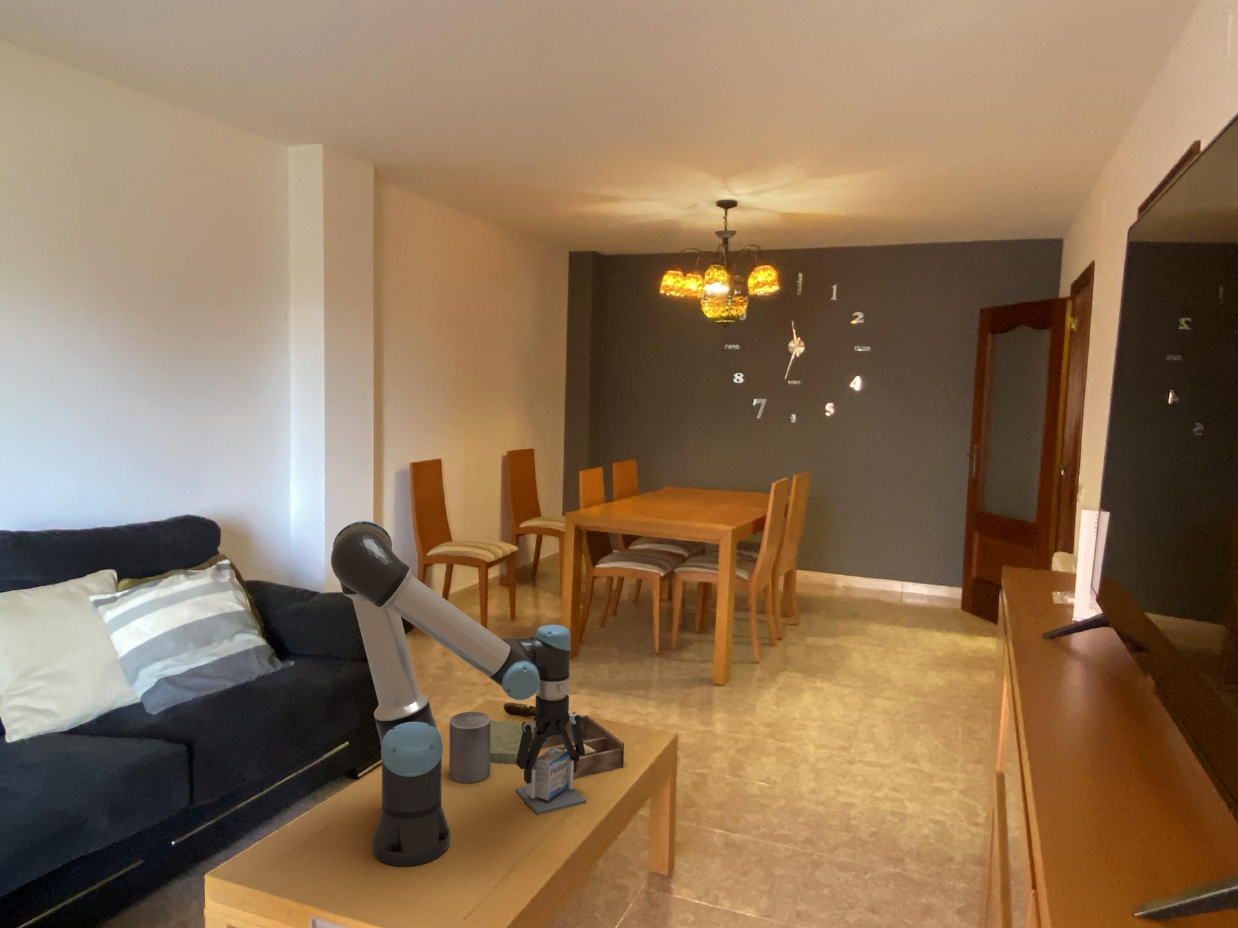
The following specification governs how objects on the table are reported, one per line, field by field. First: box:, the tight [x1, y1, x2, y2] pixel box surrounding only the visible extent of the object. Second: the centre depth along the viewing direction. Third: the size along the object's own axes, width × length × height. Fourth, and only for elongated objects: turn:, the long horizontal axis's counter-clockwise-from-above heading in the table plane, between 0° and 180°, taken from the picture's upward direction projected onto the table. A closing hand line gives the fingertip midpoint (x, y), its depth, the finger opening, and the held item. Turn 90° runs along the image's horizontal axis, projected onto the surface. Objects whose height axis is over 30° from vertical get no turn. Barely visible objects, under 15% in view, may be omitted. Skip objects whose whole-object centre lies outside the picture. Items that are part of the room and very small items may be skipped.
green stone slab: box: [490, 719, 532, 765], centre depth 216 cm, size 19×20×4 cm
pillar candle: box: [448, 711, 492, 784], centre depth 199 cm, size 10×10×15 cm
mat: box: [515, 785, 587, 816], centre depth 190 cm, size 12×12×1 cm
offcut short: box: [564, 744, 596, 758], centre depth 205 cm, size 6×5×2 cm
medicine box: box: [533, 747, 568, 801], centre depth 189 cm, size 8×4×9 cm, turn 149°
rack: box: [532, 714, 625, 780], centre depth 210 cm, size 16×20×6 cm
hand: (550, 790), depth 190 cm, fingers closed on medicine box, 9 cm apart
